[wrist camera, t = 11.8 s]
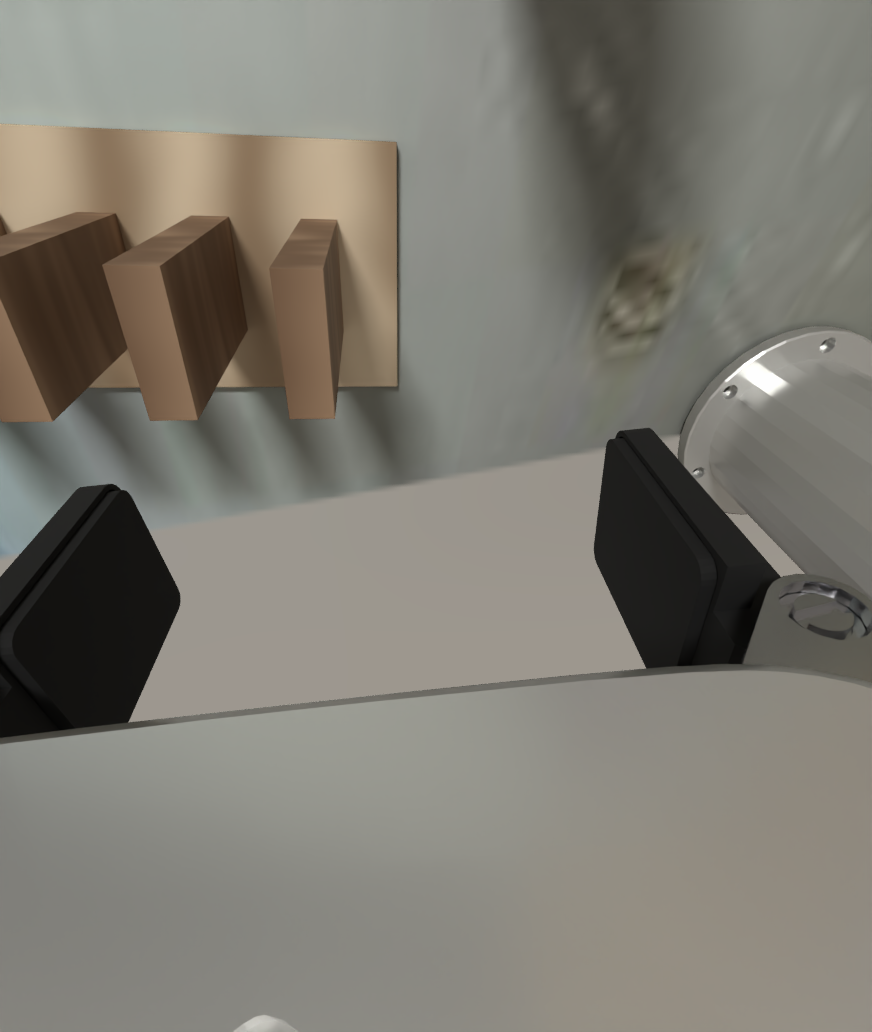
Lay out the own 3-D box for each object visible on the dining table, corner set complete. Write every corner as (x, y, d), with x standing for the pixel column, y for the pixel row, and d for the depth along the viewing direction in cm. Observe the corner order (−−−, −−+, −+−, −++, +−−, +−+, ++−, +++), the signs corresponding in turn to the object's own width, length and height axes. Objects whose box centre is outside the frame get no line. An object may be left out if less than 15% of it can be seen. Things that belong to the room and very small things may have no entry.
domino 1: (115, 213, 23) (-16, 262, 15) (147, 329, 26) (52, 421, 18) (76, 212, 23) (-77, 261, 15) (113, 328, 26) (2, 422, 18)
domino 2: (228, 216, 24) (159, 265, 16) (247, 330, 27) (198, 420, 19) (191, 215, 24) (102, 265, 16) (214, 329, 26) (149, 420, 18)
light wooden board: (396, 141, 23) (396, 142, 23) (396, 383, 30) (397, 386, 29) (-290, 110, 20) (-301, 110, 20) (-121, 385, 27) (-127, 388, 26)
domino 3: (336, 219, 24) (322, 268, 16) (343, 330, 27) (334, 418, 19) (300, 218, 24) (269, 268, 16) (311, 330, 27) (289, 419, 19)
